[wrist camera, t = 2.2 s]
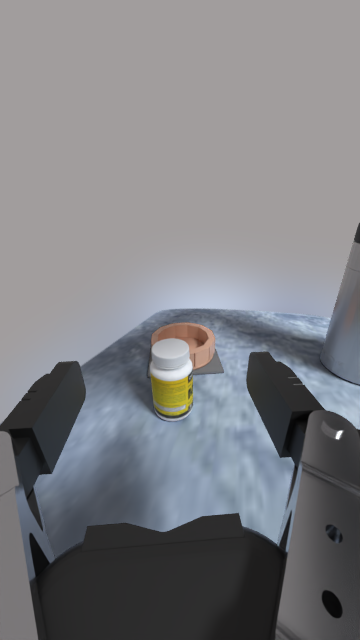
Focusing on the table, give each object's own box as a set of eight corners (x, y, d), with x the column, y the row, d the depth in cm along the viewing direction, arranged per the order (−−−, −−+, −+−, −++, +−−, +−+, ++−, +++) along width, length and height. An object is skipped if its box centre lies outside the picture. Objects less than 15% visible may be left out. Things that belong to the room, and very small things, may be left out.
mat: (209, 335, 42) (209, 334, 42) (223, 372, 32) (223, 371, 32) (151, 338, 42) (151, 337, 41) (147, 377, 32) (147, 376, 32)
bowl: (207, 335, 41) (208, 321, 40) (219, 369, 32) (220, 352, 31) (154, 338, 41) (152, 324, 40) (151, 373, 32) (149, 356, 31)
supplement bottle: (196, 419, 25) (196, 358, 21) (154, 425, 24) (147, 363, 21) (189, 389, 29) (188, 334, 26) (153, 394, 29) (147, 338, 25)
